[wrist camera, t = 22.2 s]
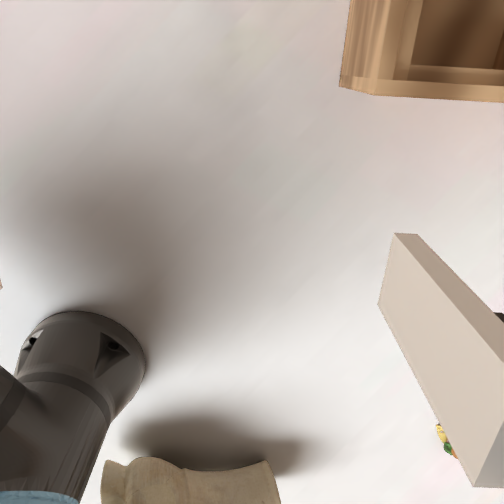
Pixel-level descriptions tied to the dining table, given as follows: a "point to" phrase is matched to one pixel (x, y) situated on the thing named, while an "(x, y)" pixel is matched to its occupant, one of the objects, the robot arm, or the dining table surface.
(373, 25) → the toolbox
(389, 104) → the dining table surface
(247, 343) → the dining table surface
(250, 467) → the beige knobby lump
